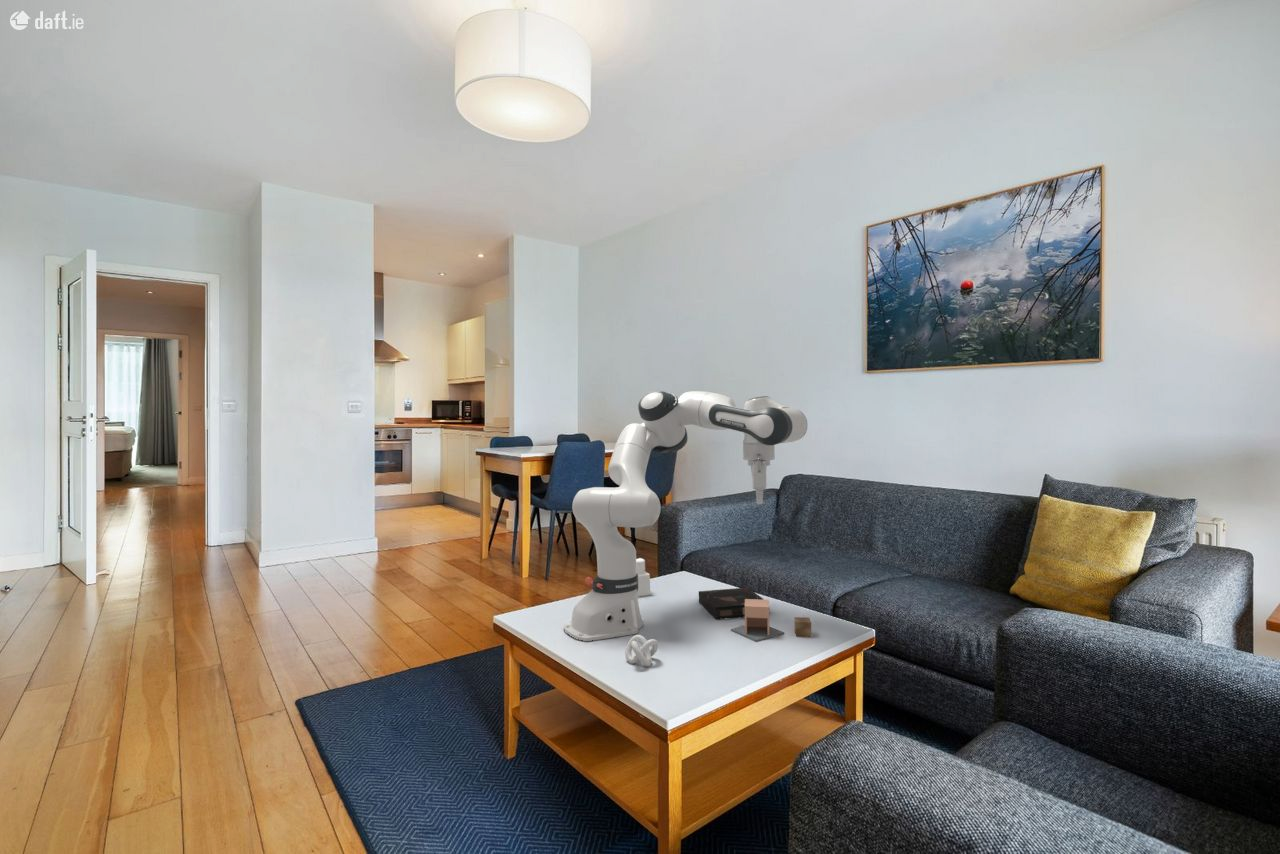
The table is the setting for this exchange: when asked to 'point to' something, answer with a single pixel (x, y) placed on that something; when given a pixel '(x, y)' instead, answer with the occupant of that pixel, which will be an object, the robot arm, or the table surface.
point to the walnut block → (802, 626)
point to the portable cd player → (726, 602)
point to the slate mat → (757, 632)
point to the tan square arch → (756, 613)
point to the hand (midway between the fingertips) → (759, 501)
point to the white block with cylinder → (642, 578)
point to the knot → (641, 650)
